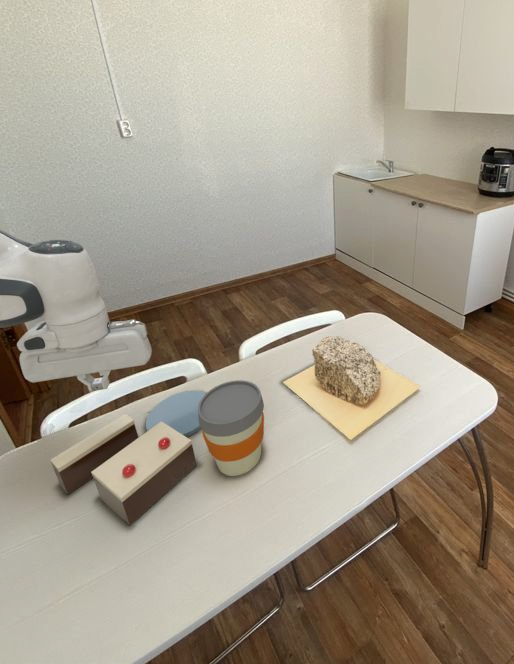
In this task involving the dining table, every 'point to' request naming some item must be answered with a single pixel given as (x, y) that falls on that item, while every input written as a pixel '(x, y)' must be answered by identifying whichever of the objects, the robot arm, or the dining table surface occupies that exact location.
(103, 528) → the dining table surface
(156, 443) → the cake
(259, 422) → the reusable coffee cup
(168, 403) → the plate
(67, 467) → the cake slice
